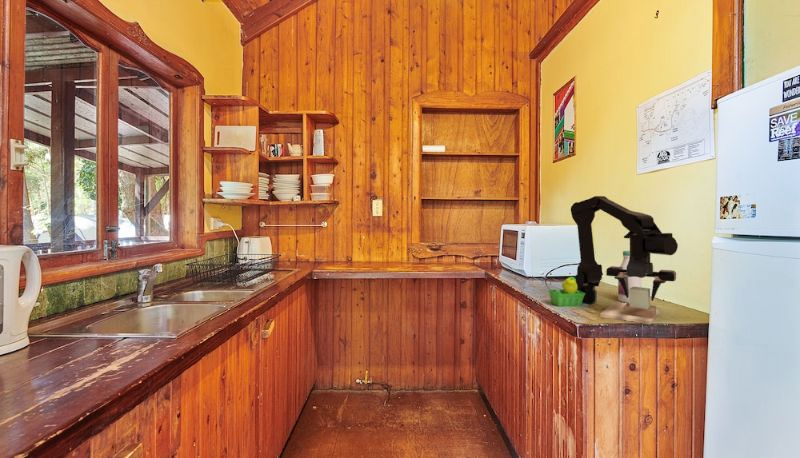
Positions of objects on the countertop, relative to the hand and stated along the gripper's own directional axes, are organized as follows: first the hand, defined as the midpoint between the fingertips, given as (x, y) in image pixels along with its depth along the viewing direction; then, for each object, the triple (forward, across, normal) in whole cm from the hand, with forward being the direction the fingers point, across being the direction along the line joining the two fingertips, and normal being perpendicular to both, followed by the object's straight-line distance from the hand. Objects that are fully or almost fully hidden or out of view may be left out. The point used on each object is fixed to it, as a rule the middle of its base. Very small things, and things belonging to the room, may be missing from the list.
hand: (639, 299), depth 118 cm
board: (+6, -3, +3) cm, 7 cm away
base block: (+5, 0, 0) cm, 5 cm away
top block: (+2, 0, 0) cm, 2 cm away
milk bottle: (+6, -7, +23) cm, 25 cm away
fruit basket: (+6, -24, +2) cm, 25 cm away
